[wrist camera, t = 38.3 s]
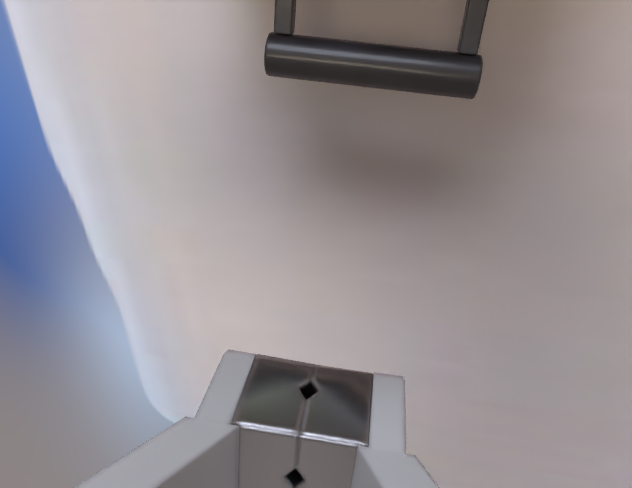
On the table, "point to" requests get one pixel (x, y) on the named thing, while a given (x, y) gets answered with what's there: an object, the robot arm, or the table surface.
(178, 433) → the robot arm
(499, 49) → the table surface
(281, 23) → the drawer
